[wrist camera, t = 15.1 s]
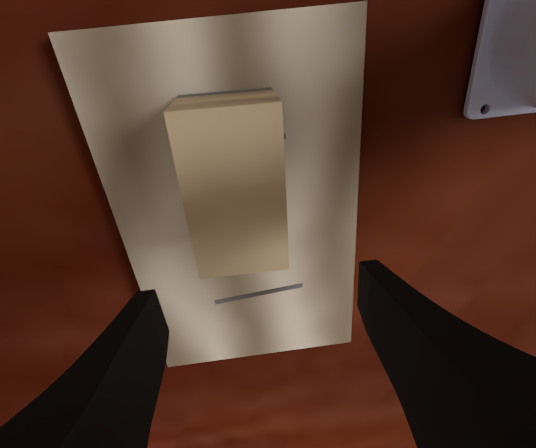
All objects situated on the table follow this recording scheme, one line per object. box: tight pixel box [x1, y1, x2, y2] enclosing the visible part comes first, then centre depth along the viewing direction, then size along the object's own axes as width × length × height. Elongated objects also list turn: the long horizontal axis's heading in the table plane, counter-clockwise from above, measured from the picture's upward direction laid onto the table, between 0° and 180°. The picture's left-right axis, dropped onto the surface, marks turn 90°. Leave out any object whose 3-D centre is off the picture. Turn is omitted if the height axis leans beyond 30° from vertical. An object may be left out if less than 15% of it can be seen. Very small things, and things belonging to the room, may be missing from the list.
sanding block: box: [163, 87, 289, 279], centre depth 17 cm, size 8×4×4 cm, turn 4°
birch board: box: [48, 1, 367, 367], centre depth 21 cm, size 14×22×1 cm, turn 5°
